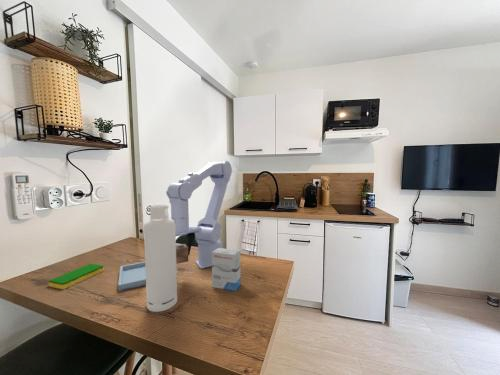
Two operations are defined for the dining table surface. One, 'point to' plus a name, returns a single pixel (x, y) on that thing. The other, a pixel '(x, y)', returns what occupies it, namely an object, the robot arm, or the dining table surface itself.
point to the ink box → (226, 269)
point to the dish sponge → (75, 276)
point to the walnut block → (181, 253)
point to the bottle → (160, 259)
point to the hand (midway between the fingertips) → (181, 255)
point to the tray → (132, 276)
